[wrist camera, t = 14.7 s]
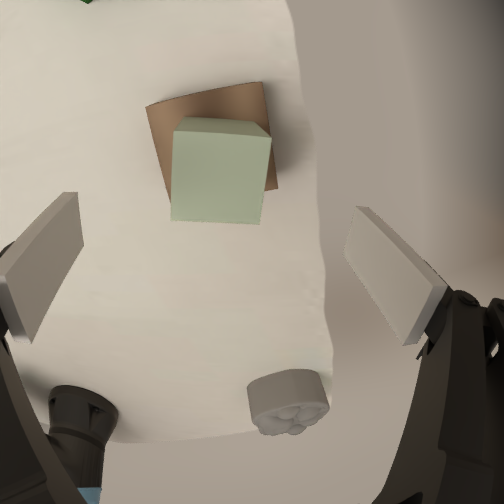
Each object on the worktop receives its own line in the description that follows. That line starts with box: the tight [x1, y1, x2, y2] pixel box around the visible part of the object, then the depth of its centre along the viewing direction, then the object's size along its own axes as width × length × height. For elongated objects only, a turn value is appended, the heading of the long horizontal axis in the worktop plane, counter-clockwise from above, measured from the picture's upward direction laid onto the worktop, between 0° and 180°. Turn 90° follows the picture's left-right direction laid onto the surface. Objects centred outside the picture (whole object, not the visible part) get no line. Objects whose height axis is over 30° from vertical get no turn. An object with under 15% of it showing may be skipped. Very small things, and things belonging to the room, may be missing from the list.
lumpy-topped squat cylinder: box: [247, 369, 330, 436], centre depth 49 cm, size 10×13×9 cm
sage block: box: [171, 117, 272, 225], centre depth 23 cm, size 6×6×8 cm
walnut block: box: [145, 82, 278, 203], centre depth 28 cm, size 10×10×5 cm
